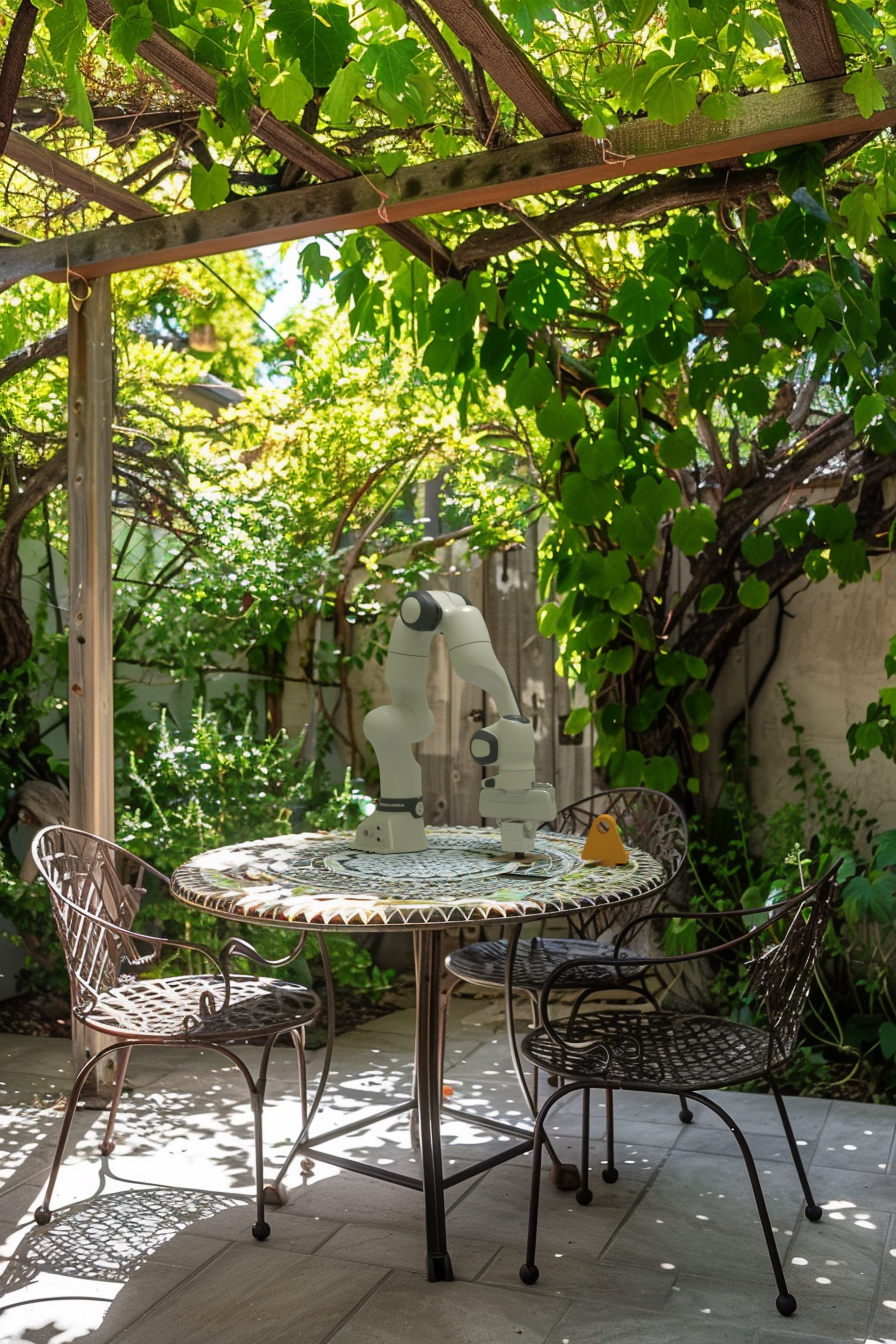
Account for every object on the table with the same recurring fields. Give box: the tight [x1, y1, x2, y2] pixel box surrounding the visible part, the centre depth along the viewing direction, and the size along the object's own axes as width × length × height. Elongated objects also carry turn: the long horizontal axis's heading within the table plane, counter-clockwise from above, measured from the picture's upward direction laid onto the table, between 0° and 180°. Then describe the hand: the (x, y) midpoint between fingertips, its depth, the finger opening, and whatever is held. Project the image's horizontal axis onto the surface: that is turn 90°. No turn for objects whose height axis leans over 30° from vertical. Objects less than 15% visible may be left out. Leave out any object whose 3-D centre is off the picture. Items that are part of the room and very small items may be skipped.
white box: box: [500, 819, 536, 853], centre depth 306 cm, size 6×6×7 cm
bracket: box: [580, 813, 630, 867], centre depth 303 cm, size 11×7×12 cm, turn 74°
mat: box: [495, 872, 554, 882], centre depth 289 cm, size 12×12×1 cm
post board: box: [487, 852, 552, 864], centre depth 306 cm, size 12×12×8 cm
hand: (517, 837), depth 306 cm, fingers closed on white box, 6 cm apart
